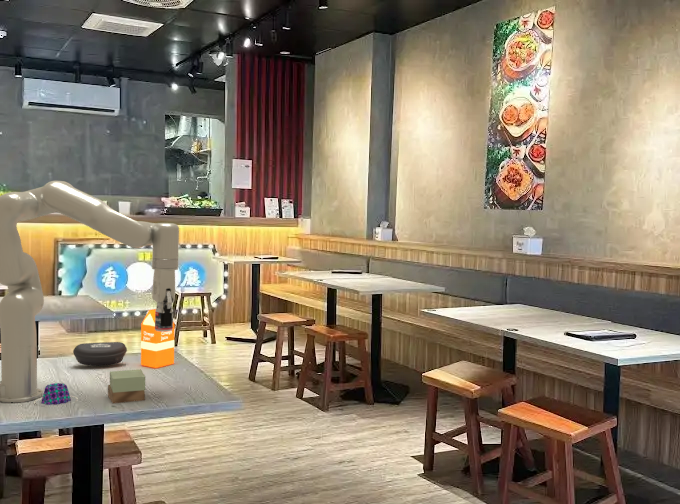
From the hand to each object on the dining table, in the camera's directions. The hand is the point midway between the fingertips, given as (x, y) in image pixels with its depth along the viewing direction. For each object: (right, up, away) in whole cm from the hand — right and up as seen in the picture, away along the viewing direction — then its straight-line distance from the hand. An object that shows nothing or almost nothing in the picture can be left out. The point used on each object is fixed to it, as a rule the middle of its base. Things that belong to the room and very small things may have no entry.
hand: (163, 323), depth 215 cm
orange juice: (-12, -19, +41) cm, 46 cm away
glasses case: (-32, -18, +38) cm, 53 cm away
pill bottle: (0, -2, 0) cm, 2 cm away
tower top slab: (-10, -18, -4) cm, 21 cm away
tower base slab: (-10, -22, -4) cm, 25 cm away
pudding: (-29, -22, -8) cm, 38 cm away
